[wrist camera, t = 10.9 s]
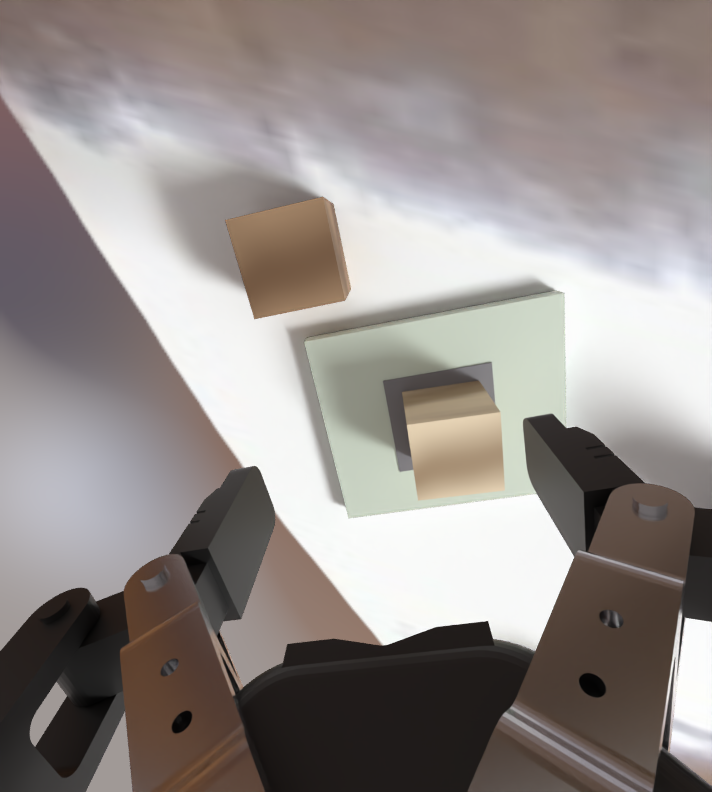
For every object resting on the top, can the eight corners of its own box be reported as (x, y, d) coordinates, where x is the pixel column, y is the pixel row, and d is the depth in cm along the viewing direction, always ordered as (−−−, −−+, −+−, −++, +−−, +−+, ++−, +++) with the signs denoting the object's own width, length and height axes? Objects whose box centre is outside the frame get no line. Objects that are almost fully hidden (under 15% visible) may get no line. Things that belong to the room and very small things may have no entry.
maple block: (401, 391, 27) (406, 424, 22) (478, 380, 26) (500, 412, 21) (411, 457, 28) (418, 500, 24) (484, 447, 28) (505, 490, 23)
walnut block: (253, 222, 25) (225, 220, 20) (333, 204, 24) (322, 196, 19) (276, 304, 26) (254, 319, 22) (351, 288, 26) (345, 300, 21)
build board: (307, 337, 27) (303, 342, 26) (556, 290, 25) (564, 293, 24) (349, 508, 32) (348, 519, 31) (560, 480, 30) (567, 490, 29)
